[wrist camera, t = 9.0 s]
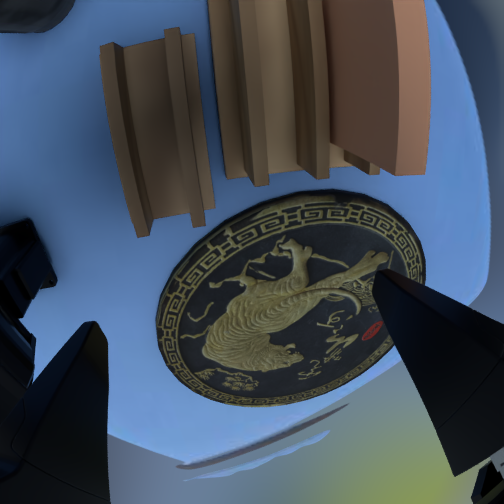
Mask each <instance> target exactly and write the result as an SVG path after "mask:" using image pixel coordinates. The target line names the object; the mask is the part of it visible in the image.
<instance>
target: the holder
mask: <svg viewBox="0 0 504 504" xmlns="http://www.w3.org/2000/svg"><path fill="white" fill-rule="evenodd" d="M164 34H165V38H163V39H158V40H153V41H148V42H144V43H140V44H136V45H132V46H128V47H124V48H123V47H121V46H120V45H118V44H116V43H114V42H111V43H108V44H105V45H102V46H100V55H99V56H100V66H101V75H102V83H103V90H104V97H105V104H106V110H107V116H108V122H109V127H110V133H111V138H112V143H113V148H114V153H115V157H116V162H117V166H118V171H119V175H120V179H121V183H122V187H123V191H124V195H125V199H126V203H127V206H128V210H129V214H130V217H131V221H132V223H133V225H134V228H135V231H136V235H137V238H140V237H145V236H149V235H150V231H151V227H152V223H153V219H158V218H163V217H168V216H174V215H179V214H185V213H190V215H191V221H192V226H193V228H195V227H201V226H206V223H205V214H204V210H208V209H214V208H215V201H214V194H213V187H212V180H211V173H210V165H209V158H208V150H207V142H206V135H205V127H204V119H203V110H202V102H201V93H200V84H199V75H198V66H197V56H196V46H195V35H194V33H193V34H186V35H181V33H180V28H179V27H176V28H170V29H165V30H164Z"/></svg>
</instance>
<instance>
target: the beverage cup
mask: <svg viewBox="0 0 504 504" xmlns="http://www.w3.org/2000/svg"><path fill="white" fill-rule="evenodd" d="M74 2H75V0H0V33H32V32H34V33H41V32H45V31H47V30H49V29H52V28H53V27H55V26H56V25H57V24H59V23H60V22H61V21H62V20H63V19H64V18H65V17H66V16H67V15H68V13H69V11H70V10H71V8H72V7H73V5H74Z"/></svg>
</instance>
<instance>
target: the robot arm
mask: <svg viewBox="0 0 504 504" xmlns="http://www.w3.org/2000/svg"><path fill="white" fill-rule="evenodd" d="M26 224H28V226H27V225H26ZM51 280H52V281H53V282H52V281H51ZM56 284H57V278H56V276H55V274H54V272H53V270H52V268H51V265H50V263H49V261H48V259H47V256H46V254H45V252H44V250H43V247H42V245H41V243H40V241H39V238H38V236H37V233H36V231H35V228H34V226H33V223H32V221H31V220H30V219H28V218H26V219H23V220H20V221H17V222H14V223H11V224H8V225H5V226H2V227H0V504H111V502H110V493H109V479H108V478H109V477H108V457H107V456H108V454H107V453H108V452H107V421H108V395H109V373H108V341H107V338H106V337H105V335H104V333H103V331H102V330H101V328H100V326H99V324H98V323H97V322H96V321H88V322H84V323H83V324H82V325H81V326H80V327H79V328H78V330H77V331H76V332H75V333H74V334H73V335H72V336H71V338H70V339H69V340H68V341H67V342H66V343H65V344H64V346H63V347H62V348H61V349H60V350H59V352H58V353H57V354H56V355H55V356H54V358H53V359H52V360H51V361H50V362H49V364H48V365H47V366H46V367H45V368H44V370H43V371H42V372H41V373H40V375H39V376H38V377H37V378H36V380H35V381H34V382H33V376H34V370H35V364H34V359H35V346H36V338H35V337H34V335H33V334H32V333H31V334H30V332H29V331H28V330H27V329H26V328H25V327H24V325H23V324H22V323H21V322H20V320H19V319H20V318H23V317H24V315H25V313H26V311H27V309H28V307H29V305H30V303H31V301H32V300H33V299H35V297H36V295H37V293H38V291H39V289H44V288H50V287H54V286H56ZM372 296H373V298H374V301H375V303H376V305H377V308H378V310H379V312H380V315H381V317H382V319H383V322H384V324H385V326H386V329H387V331H388V333H389V335H390V337H391V339H392V341H393V343H394V345H395V347H396V348H397V350H398V352H399V354H400V356H401V358H402V360H403V362H404V363H405V366H406V368H407V370H408V372H409V374H410V376H411V378H412V380H413V382H414V384H415V386H416V388H417V390H418V392H419V394H420V397H421V398H422V401H423V403H424V405H425V407H426V409H427V412H428V414H429V416H430V418H431V421H432V423H433V425H434V427H435V430H436V432H437V435H438V437H439V440H440V442H441V445H442V447H443V449H444V452H445V455H446V457H447V459H448V462H449V464H450V467H451V470H452V473H453V475H454V476H455V477H456V476H458V475H459V474H461V473H463V472H465V471H467V470H468V469H470V468H472V467H473V466H475V465H477V464H478V463H480V462H482V461H483V460H485V459H487V458H488V457H490V458H491V460H490V461H489V462H488V463H487V464H485V465H484V466H483V467H482V468H481V469H480V470H479V472H478V476H477V480H476V483H475V486H474V490H473V493H472V496H471V499H472V502H473V504H504V324H502V323H500V322H498V321H495V320H493V319H491V318H489V317H487V316H485V315H483V314H481V313H479V312H477V311H476V310H473V309H471V308H469V307H468V306H466V305H464V304H462V303H460V302H458V301H456V300H454V299H452V298H450V297H448V296H446V295H444V294H441V293H439V292H437V291H435V290H433V289H431V288H429V287H427V286H425V285H423V284H421V283H419V282H417V281H414V280H412V279H410V278H408V277H406V276H404V275H402V274H400V273H397V272H395V271H393V270H391V269H389V268H385V269H381V270H378V271H377V272H376V273H375V277H374V282H373V287H372ZM32 382H33V383H32Z"/></svg>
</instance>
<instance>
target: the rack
mask: <svg viewBox="0 0 504 504" xmlns="http://www.w3.org/2000/svg"><path fill="white" fill-rule="evenodd" d="M321 1H323V0H207V4H208V15H209V26H210V37H211V47H212V58H213V68H214V77H215V87H216V97H217V106H218V115H219V124H220V133H221V142H222V151H223V159H224V168H225V176H226V178H227V179H234V178H241V177H248V176H249V178H250V180H251V181H252V183H253V185H254V186H255V187H258V186H265V185H269V174H272V173H281V172H290V171H300V170H305V171H307V172H308V173H309V174H310V175H312V176H313V177H314V178H315V179H327V178H329V168H334V167H348V166H355V167H356V168H358V169H360V170H362V171H363V172H365V173H367V174H368V175H378V174H380V167H378V166H376V165H374V164H372V163H370V162H368V161H366V160H365V159H363V158H361V157H359V156H357V155H355V154H353V153H351V152H349V151H346V150H344V149H342V148H340V147H338V146H336V145H334V144H332V143H330V126H329V90H328V70H327V54H326V41H325V30H324V20H323V10H322V2H321Z"/></svg>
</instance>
